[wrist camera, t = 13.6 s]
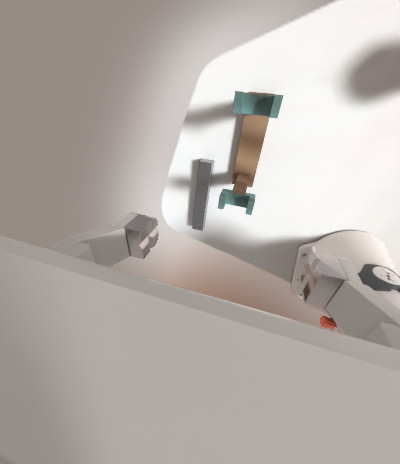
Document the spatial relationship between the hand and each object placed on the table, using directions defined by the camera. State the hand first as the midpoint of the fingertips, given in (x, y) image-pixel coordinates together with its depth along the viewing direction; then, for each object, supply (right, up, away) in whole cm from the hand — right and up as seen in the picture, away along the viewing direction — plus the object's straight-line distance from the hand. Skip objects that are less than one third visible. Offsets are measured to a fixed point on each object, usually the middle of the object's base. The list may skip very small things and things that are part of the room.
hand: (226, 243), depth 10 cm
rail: (-1, +9, +33) cm, 35 cm away
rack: (+8, +17, +25) cm, 31 cm away
